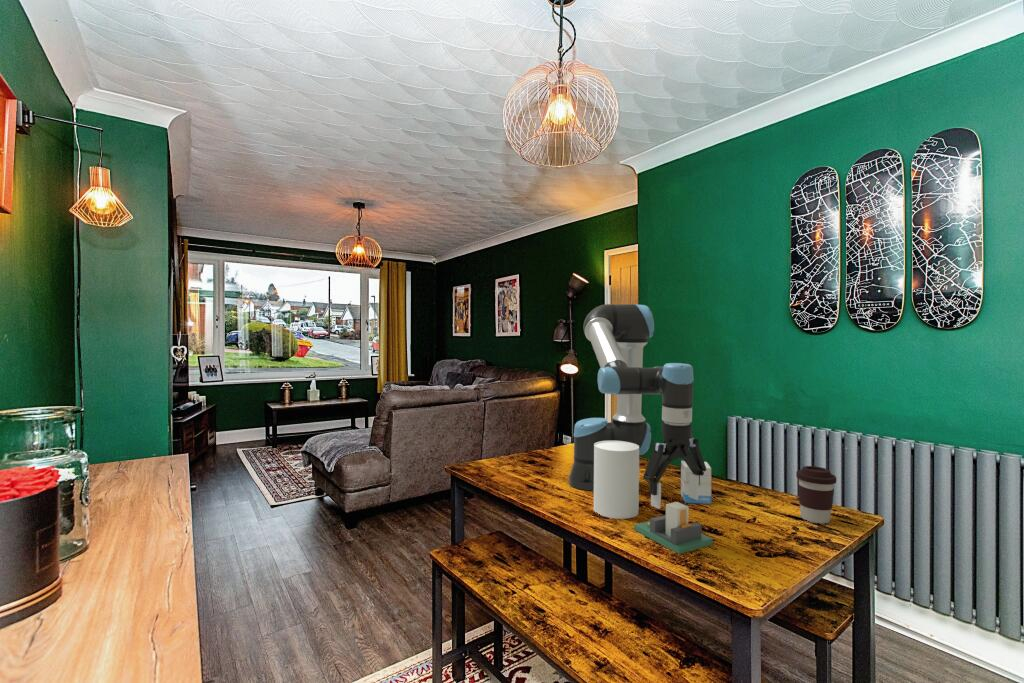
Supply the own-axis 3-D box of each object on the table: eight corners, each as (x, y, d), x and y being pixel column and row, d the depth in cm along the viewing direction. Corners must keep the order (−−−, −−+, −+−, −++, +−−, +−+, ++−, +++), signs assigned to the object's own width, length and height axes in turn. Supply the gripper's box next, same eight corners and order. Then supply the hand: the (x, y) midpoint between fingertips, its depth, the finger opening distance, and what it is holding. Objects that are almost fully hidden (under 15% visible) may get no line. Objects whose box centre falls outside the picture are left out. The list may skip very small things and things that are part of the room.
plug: (665, 534, 125) (665, 504, 125) (676, 531, 127) (676, 501, 127) (677, 540, 122) (678, 509, 122) (688, 537, 124) (689, 506, 123)
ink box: (711, 504, 152) (712, 463, 151) (684, 502, 153) (684, 461, 153) (706, 495, 160) (706, 456, 160) (680, 493, 162) (680, 454, 161)
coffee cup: (822, 528, 133) (823, 475, 133) (788, 516, 142) (789, 466, 142) (842, 522, 138) (843, 471, 138) (808, 511, 147) (809, 462, 146)
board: (634, 529, 132) (634, 510, 132) (666, 522, 137) (666, 503, 137) (679, 554, 117) (679, 532, 117) (712, 544, 123) (713, 523, 123)
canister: (584, 507, 149) (585, 443, 148) (616, 499, 156) (617, 438, 155) (614, 522, 137) (615, 453, 137) (648, 513, 144) (648, 447, 144)
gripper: (651, 430, 115) (649, 516, 116) (721, 420, 127) (719, 499, 128) (630, 424, 122) (628, 505, 123) (698, 415, 133) (697, 490, 134)
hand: (675, 502), depth 125 cm, fingers open, 13 cm apart
